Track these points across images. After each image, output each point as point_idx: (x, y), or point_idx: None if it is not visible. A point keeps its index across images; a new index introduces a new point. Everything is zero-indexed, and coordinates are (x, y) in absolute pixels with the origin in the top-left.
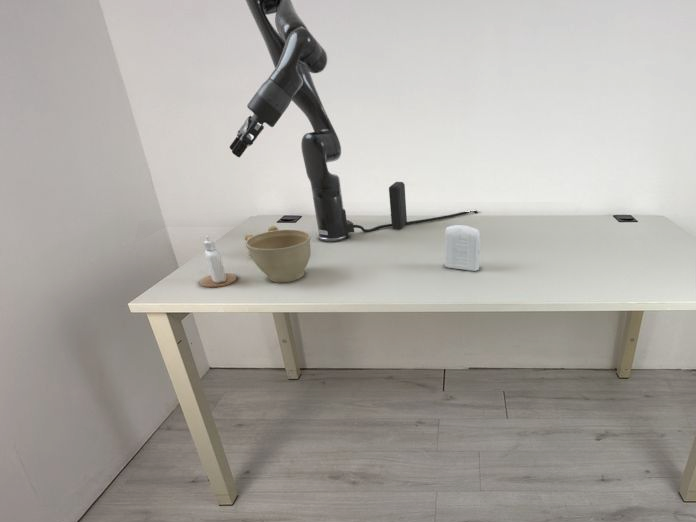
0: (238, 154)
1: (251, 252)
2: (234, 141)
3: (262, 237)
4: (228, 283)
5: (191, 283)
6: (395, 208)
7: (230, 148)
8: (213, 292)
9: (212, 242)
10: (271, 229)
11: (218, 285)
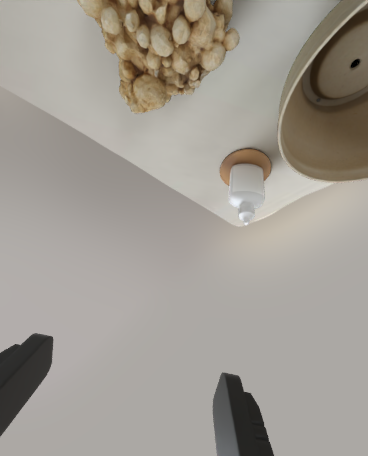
0: (250, 400)
1: (336, 170)
2: (6, 428)
3: (281, 125)
4: (270, 166)
5: (225, 192)
6: None
7: (48, 365)
8: (279, 184)
9: (254, 214)
10: (119, 22)
11: (266, 177)
